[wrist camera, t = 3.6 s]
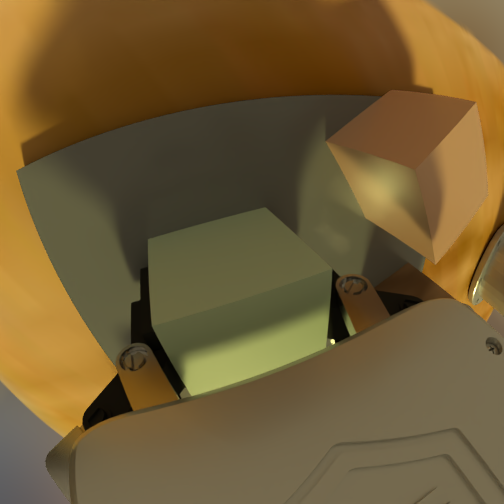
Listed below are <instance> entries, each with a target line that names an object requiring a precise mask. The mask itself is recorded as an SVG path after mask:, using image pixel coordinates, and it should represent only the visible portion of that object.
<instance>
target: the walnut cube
mask: <svg viewBox="0 0 504 504" xmlns="http://www.w3.org/2000/svg"><path fill="white" fill-rule="evenodd" d="M374 289H375V290H378V291H385V292H391V293H398V294H404V295H411V296H415V297H418V298H420V299H421V300H423V301H424V302H425V301H428V300H432V299H439V298H450V299H454V298H453V297H452V296H451V295H450V294H448V293H447V292H446V291H445V290H443V289H442V288H441V287H440V286H438V285H437V284H436V283H435V282H433V281H432V280H431V279H430V278H428V277H427V276H426V275H424V274H423V273H422V272H420V271H419V270H418V269H416V268H415V267H414V266H412V265H411V264H410V263H407V264H405V265H404V266H403V267H401V268H400V269H399V270H397V271H396V272H395V273H393V274H392V275H391V276H389V277H388V278H387V279H385V280H384V281H382V282H381V283H380V284H378V285H377V286H375V287H374ZM454 300H456V299H454Z"/></svg>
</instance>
